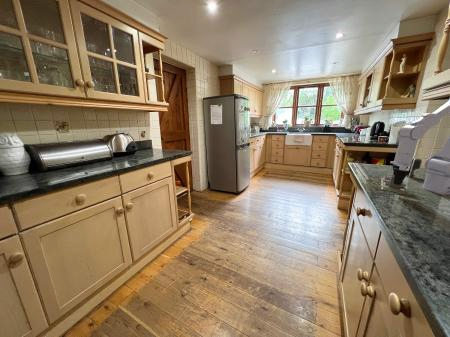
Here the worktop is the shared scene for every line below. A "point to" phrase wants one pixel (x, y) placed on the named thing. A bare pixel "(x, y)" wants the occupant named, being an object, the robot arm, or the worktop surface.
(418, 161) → the battery charger
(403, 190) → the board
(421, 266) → the worktop surface
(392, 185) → the plug
